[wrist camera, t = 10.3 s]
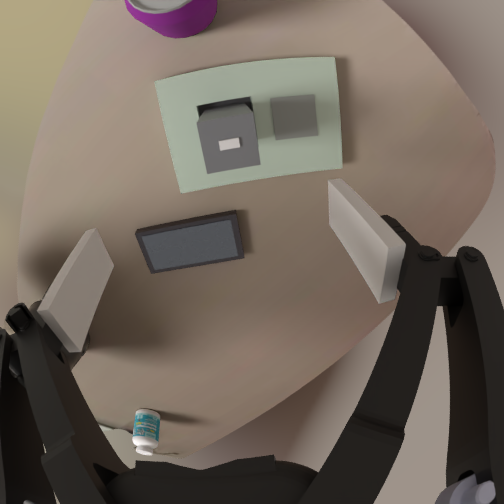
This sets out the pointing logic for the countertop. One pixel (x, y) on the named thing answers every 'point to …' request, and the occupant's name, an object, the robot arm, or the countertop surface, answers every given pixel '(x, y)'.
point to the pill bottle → (146, 431)
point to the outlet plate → (257, 117)
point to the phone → (191, 242)
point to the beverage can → (174, 15)
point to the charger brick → (228, 138)
